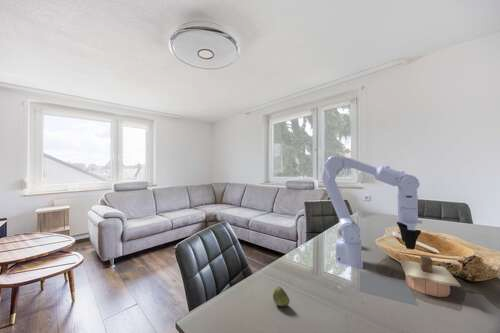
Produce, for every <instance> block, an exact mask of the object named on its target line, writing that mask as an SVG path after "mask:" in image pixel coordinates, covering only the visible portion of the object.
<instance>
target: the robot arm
mask: <svg viewBox="0 0 500 333" xmlns="http://www.w3.org/2000/svg"><path fill="white" fill-rule="evenodd" d="M390 167H391V166H389V165H381V166H377V167H375V166H372V165H370V164H367V163H365V162H363V161H359V160H356V159H355V158H354V159H353V158H350V157H345V156H339V155H336V154H334V155H330V156H329V157H328V158H327V159H326V161H325V163H324V165H323V171H322V172H323V173H322V177H321V180H322V182H323V185H324V187H325V190H326V192H327V194H328V196H329V199H330V202H331V204H332V207H333V208H334V211H335V213H336V216H337V217H338V221H339V225H340V226H341V228H342V238H341V239H338V238H336V241H335V264H339V265H343V266H347V267H353V268H359V269H363V268H364V261H363V259H362V258H363V257H362V254H363V253H362V239H360V238H361V234H360V232H361V229H360V227H359V225H358V223H356V222H355V220H354V218H353V217H352V216H351V214H350V211H349V209H348V206H347V205H346V204H347V203H346V202H345V200H344V197H343V195H342V193H341V190H340V189H339V188H340V187H339V186H338V183H337V181H336V179H337V176H338V174H339V173H340V172H341V171H342V170H343V169H347V170H348V169H354V170H358V171H360V172H364V173H367V174H369V175H372V176H373V177H374V179H375V181H378V182H382V183H384V184H387V185H390V186H393V187H396V186H397V193H398V194H397V220H396V224H397V226H398V228H399V231H400V235H401V236H400V237H401V240H402V242H403V243H404V246H405V248H406V250H412V251H413V250H415V248H416V243H417V241H418V238H419V236H420V235H421V233H422V230H421V229H416V226H417V225H420V224H421V225H422V224H423V221H422V220H419V213H418V212H419V209H418V208H419V205H418V204H419V203H418V202H419V201H418V199H419V198H418V197H419V196H418V189H419V187H420V185H421V184H420V182H419V179H418V178H417V177H416V176H414V175H412V174H408V173H405V171H403V170H401V171H400V170H399V171H398V170H396V169H392V168H390Z"/></svg>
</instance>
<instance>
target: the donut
mask: <svg viewBox="0 0 500 333" xmlns="http://www.w3.org/2000/svg"><path fill="white" fill-rule="evenodd" d="M341 238H342V228H341V226H340V224H339V225H338V226H337V228H336V239H341Z"/></svg>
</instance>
